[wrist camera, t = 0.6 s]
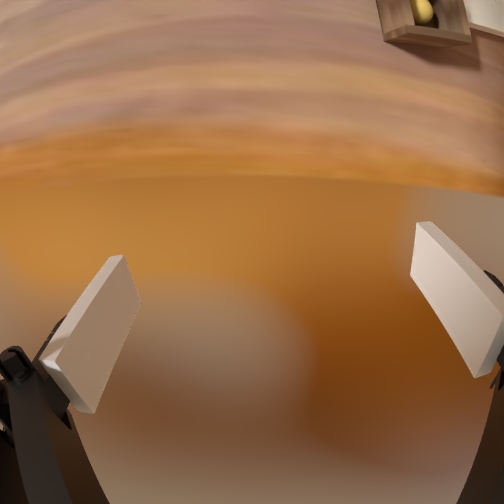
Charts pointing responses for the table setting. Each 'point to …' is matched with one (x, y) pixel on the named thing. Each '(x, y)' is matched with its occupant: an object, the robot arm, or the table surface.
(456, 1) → the box
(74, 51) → the table surface
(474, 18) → the tray
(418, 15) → the ball
